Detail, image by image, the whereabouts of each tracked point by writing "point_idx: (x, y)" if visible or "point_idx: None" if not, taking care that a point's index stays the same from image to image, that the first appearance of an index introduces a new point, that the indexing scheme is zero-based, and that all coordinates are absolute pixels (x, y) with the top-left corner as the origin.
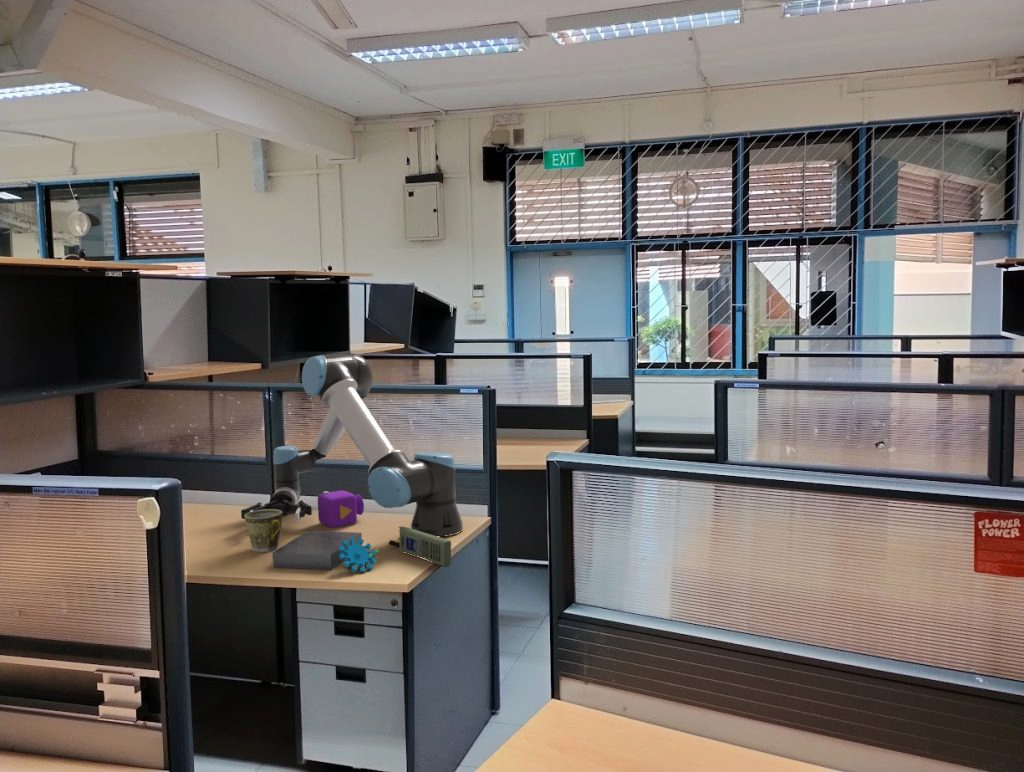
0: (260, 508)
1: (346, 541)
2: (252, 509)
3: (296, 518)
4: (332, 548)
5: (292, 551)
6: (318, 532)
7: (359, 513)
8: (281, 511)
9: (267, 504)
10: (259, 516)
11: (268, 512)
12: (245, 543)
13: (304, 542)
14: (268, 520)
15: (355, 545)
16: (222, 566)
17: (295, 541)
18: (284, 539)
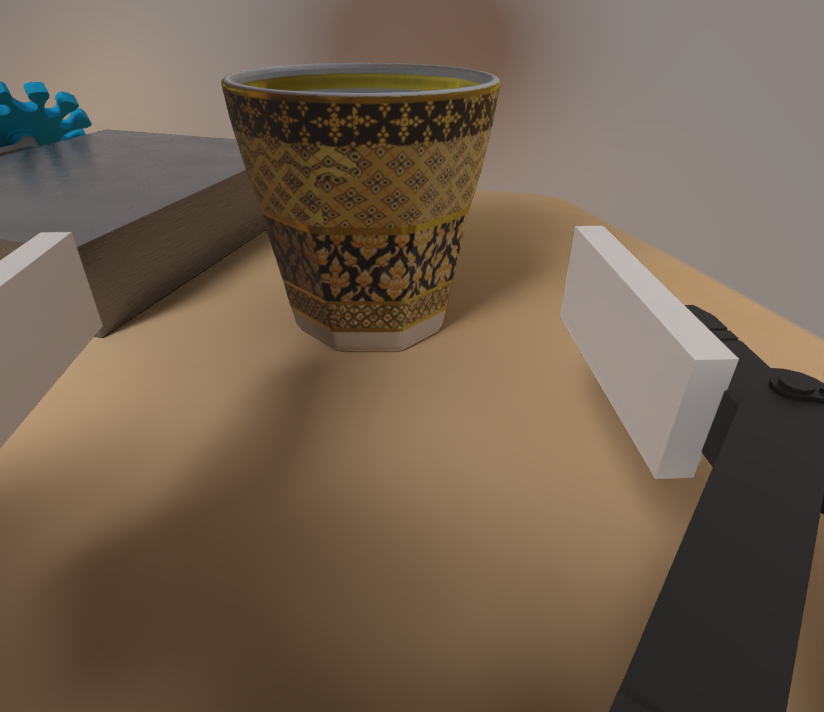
0: (690, 529)
1: (30, 87)
2: (786, 434)
3: (77, 288)
4: (72, 145)
5: (226, 143)
6: (23, 227)
7: None
8: (226, 78)
9: (630, 707)
10: (421, 151)
11: (343, 125)
12: (549, 398)
13: (158, 172)
14: (320, 85)
15: (4, 106)
16: (500, 218)
17: (197, 178)
18: (251, 438)
